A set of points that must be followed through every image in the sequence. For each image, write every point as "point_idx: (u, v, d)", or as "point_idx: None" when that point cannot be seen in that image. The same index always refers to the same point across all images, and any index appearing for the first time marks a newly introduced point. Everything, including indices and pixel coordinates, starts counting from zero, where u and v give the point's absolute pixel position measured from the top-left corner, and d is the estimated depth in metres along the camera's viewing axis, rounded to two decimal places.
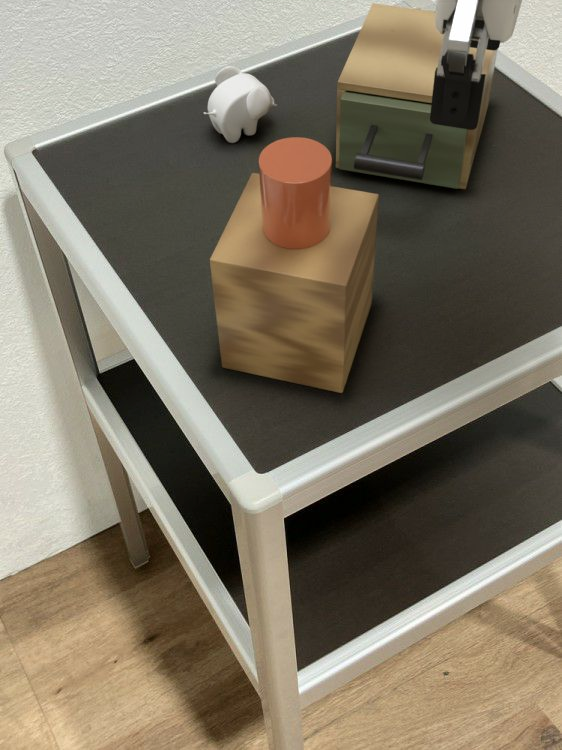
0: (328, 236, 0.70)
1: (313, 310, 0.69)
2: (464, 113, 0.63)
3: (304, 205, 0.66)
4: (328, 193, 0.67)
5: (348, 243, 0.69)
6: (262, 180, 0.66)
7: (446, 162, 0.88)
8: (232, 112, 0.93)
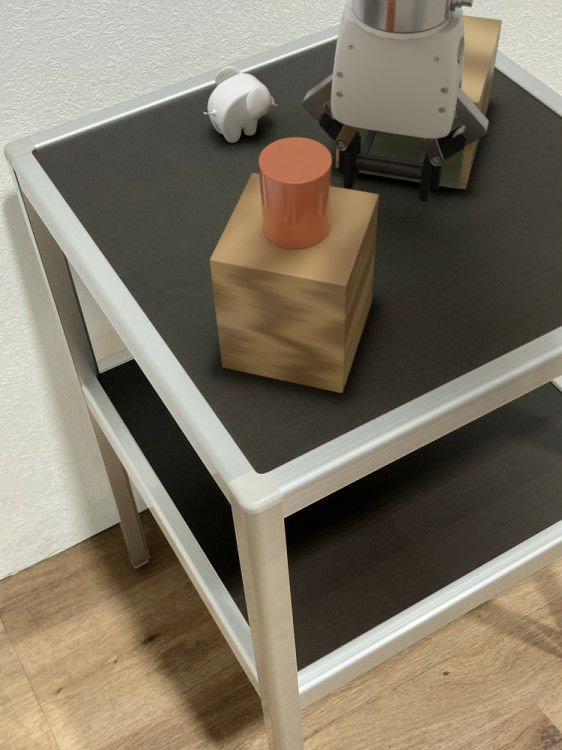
0: (328, 236, 0.70)
1: (313, 310, 0.69)
2: None
3: (304, 205, 0.66)
4: (328, 193, 0.67)
5: (348, 243, 0.69)
6: (262, 180, 0.66)
7: (446, 162, 0.88)
8: (232, 112, 0.93)
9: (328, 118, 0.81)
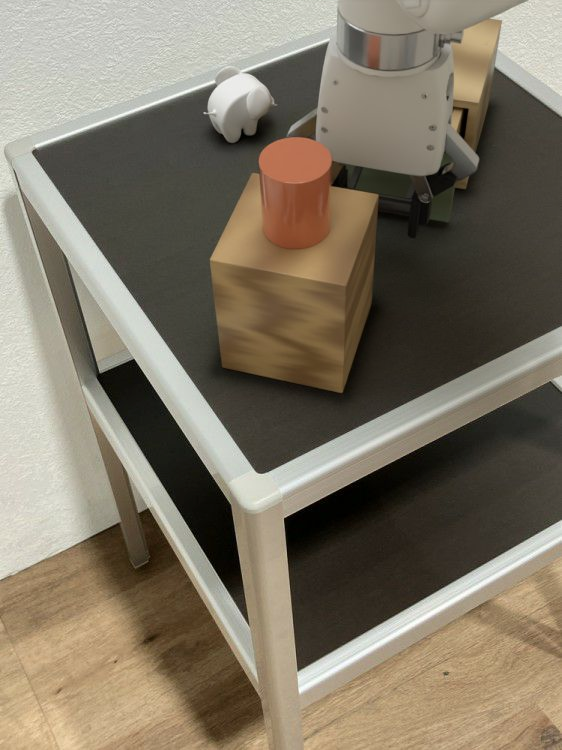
0: (328, 236, 0.70)
1: (313, 310, 0.69)
2: (430, 209, 0.81)
3: (304, 205, 0.66)
4: (328, 193, 0.67)
5: (348, 243, 0.69)
6: (262, 180, 0.66)
7: (436, 196, 0.85)
8: (232, 112, 0.93)
9: None
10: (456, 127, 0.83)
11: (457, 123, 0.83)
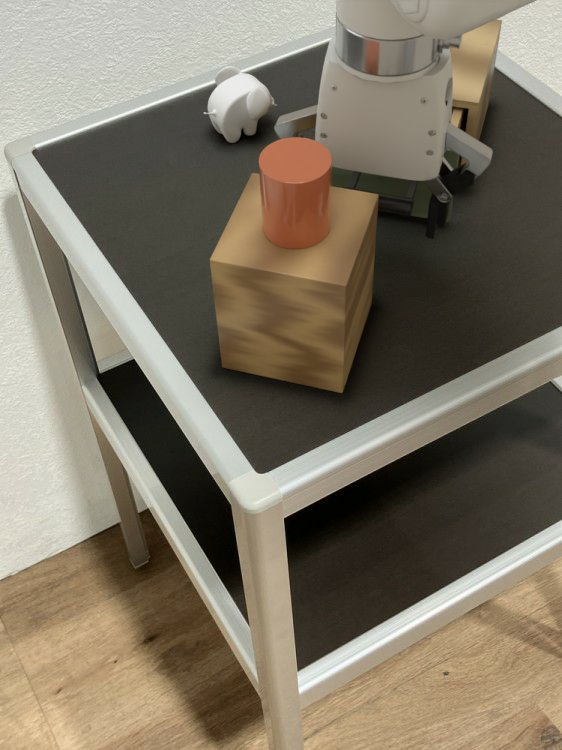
0: (328, 236, 0.70)
1: (313, 310, 0.69)
2: (448, 209, 0.80)
3: (304, 205, 0.66)
4: (328, 193, 0.67)
5: (348, 243, 0.69)
6: (262, 180, 0.66)
7: None
8: (232, 112, 0.93)
9: None
10: None
11: (457, 123, 0.83)
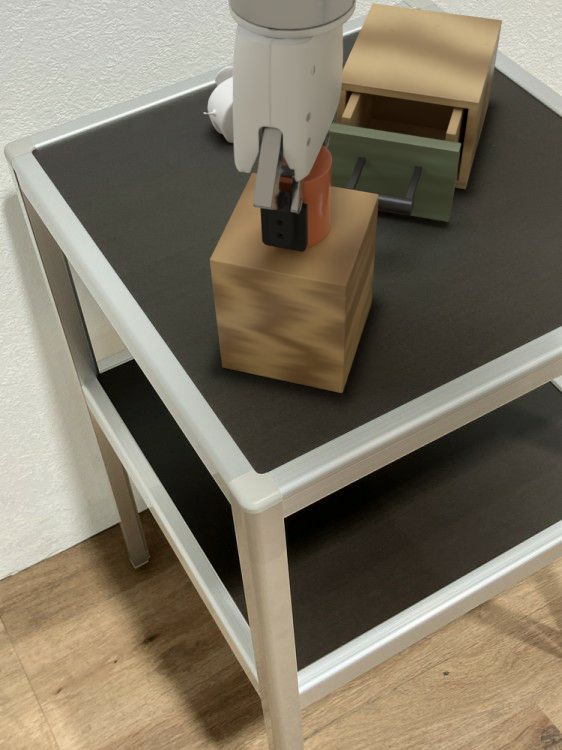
0: (328, 236, 0.70)
1: (313, 310, 0.69)
2: None
3: None
4: (328, 193, 0.67)
5: (348, 243, 0.69)
6: None
7: (436, 195, 0.85)
8: (232, 112, 0.93)
9: (283, 192, 0.62)
10: (456, 127, 0.83)
11: (457, 123, 0.83)
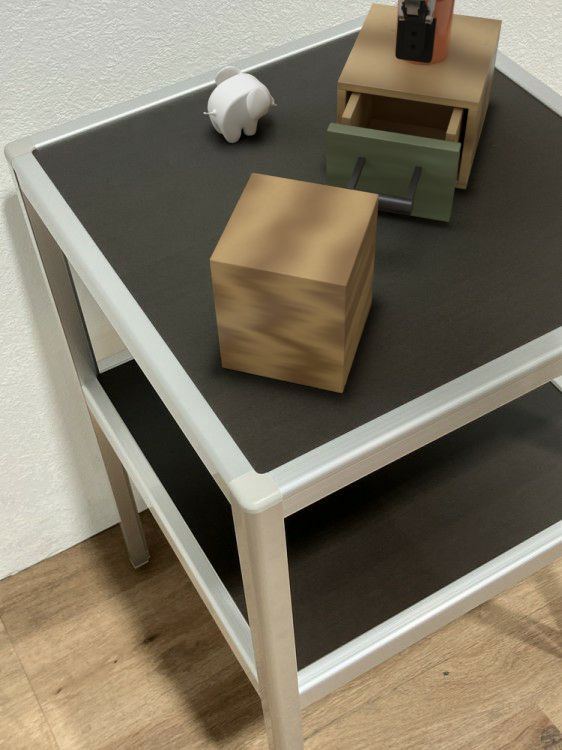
0: (328, 236, 0.70)
1: (313, 310, 0.69)
2: None
3: None
4: (452, 16, 0.85)
5: (348, 243, 0.69)
6: None
7: (436, 195, 0.85)
8: (232, 112, 0.93)
9: None
10: (456, 127, 0.83)
11: (457, 123, 0.83)
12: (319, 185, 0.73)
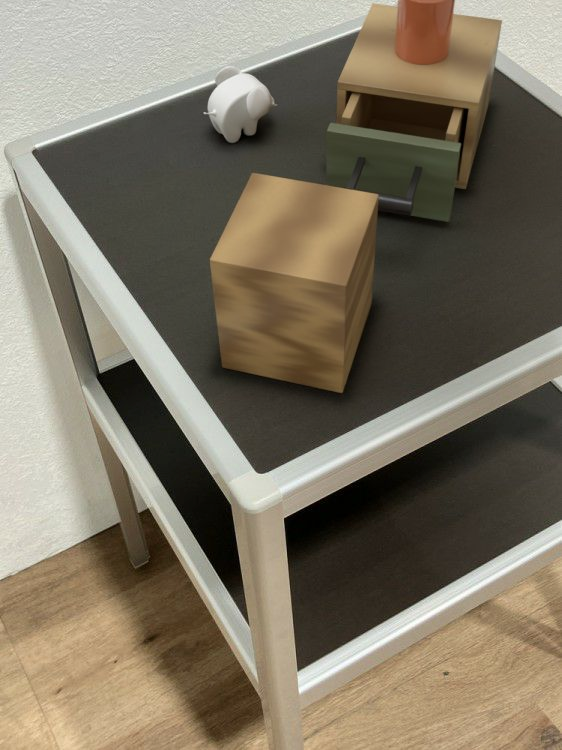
0: (328, 236, 0.70)
1: (313, 310, 0.69)
2: None
3: (434, 23, 0.84)
4: (452, 16, 0.85)
5: (348, 243, 0.69)
6: (401, 4, 0.84)
7: (436, 195, 0.85)
8: (232, 112, 0.93)
9: None
10: (456, 127, 0.83)
11: (457, 123, 0.83)
12: (319, 185, 0.73)
